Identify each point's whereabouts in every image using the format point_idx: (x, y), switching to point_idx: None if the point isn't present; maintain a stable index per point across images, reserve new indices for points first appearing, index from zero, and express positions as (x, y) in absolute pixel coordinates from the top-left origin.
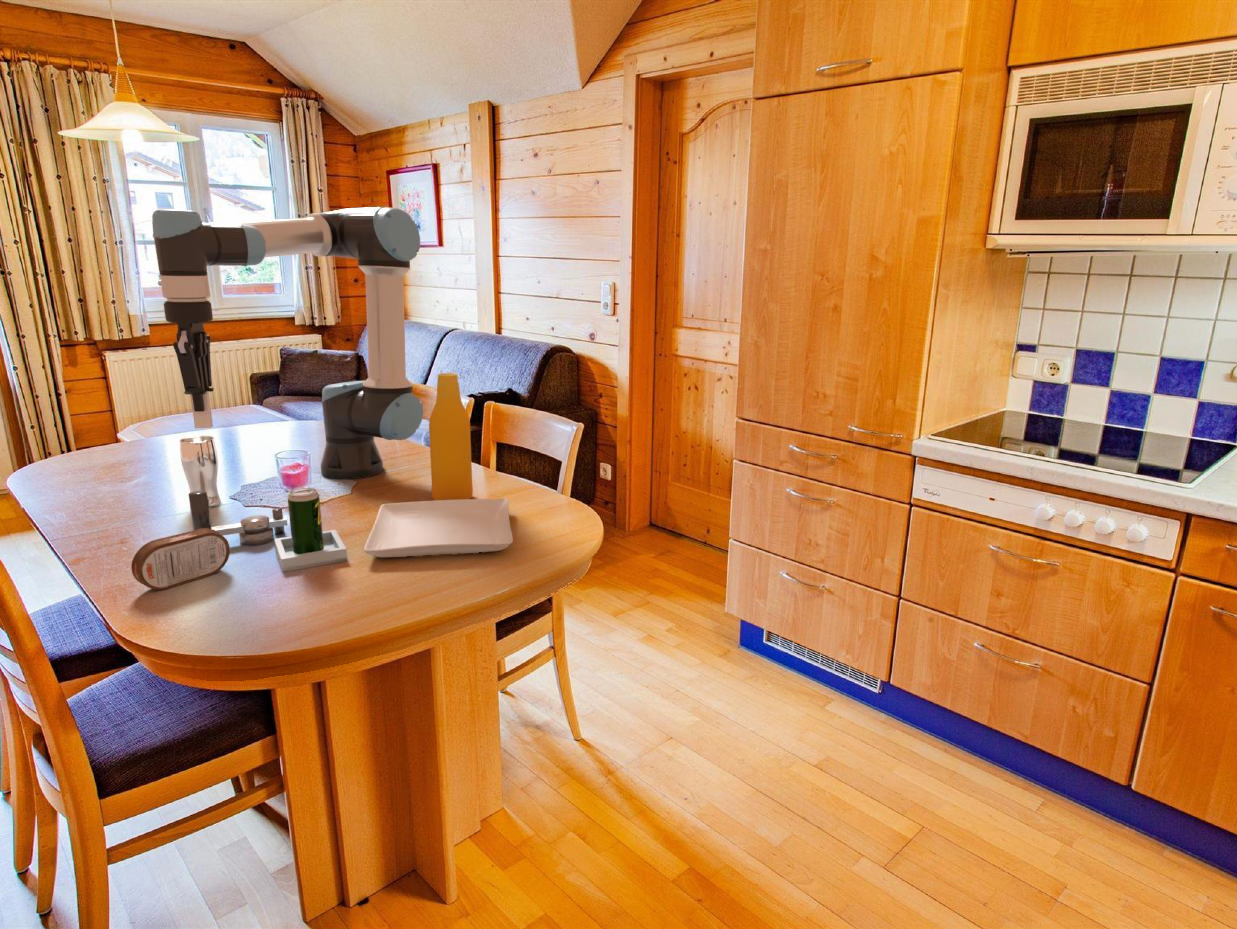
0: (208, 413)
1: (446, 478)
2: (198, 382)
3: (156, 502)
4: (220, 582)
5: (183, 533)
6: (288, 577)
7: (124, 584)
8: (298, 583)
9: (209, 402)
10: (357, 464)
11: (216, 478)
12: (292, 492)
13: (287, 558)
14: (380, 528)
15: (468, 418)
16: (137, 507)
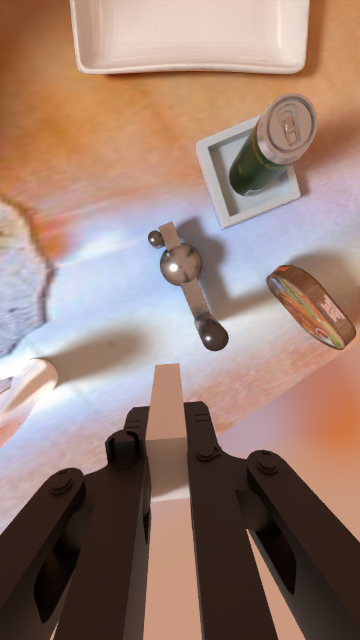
0: (180, 386)
1: None
2: (309, 506)
3: (33, 435)
4: (306, 265)
5: (320, 312)
6: (309, 189)
7: (291, 359)
8: (329, 171)
9: (155, 408)
10: None
11: (11, 376)
12: (292, 147)
13: (298, 188)
14: (194, 61)
15: None
16: (54, 446)
